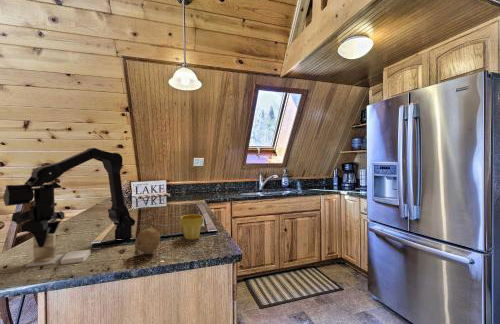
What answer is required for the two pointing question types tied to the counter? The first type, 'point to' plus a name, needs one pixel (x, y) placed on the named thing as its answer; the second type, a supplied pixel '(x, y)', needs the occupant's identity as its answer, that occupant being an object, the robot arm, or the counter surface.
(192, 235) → the plant pot
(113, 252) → the counter surface
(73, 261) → the tile
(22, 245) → the counter surface
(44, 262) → the rest mat
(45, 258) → the tan upright block
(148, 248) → the natural sponge
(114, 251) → the counter surface
